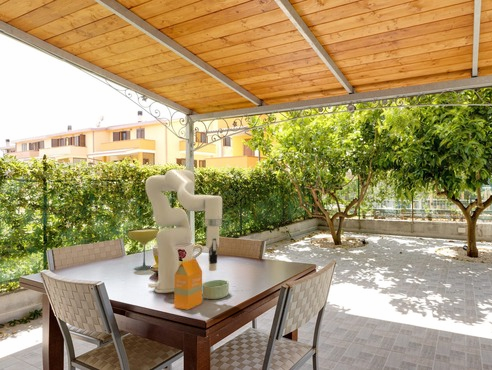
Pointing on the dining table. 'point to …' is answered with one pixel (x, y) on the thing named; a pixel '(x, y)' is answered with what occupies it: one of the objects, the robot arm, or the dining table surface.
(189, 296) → the orange juice
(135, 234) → the cocktail glass
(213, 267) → the vial
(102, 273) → the dining table surface
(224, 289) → the bowl
